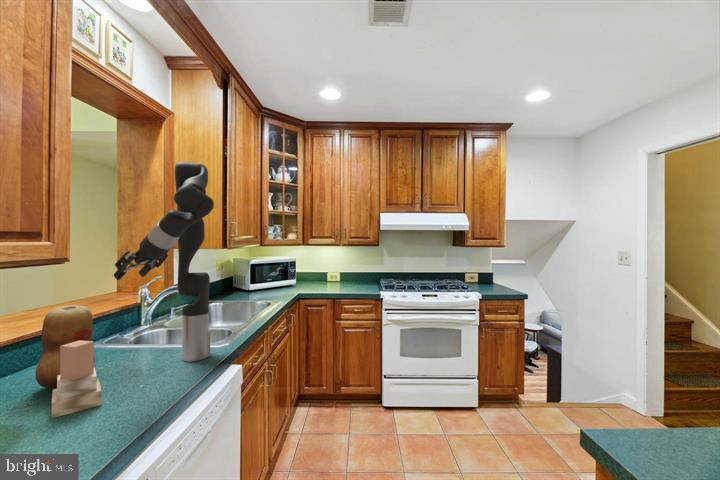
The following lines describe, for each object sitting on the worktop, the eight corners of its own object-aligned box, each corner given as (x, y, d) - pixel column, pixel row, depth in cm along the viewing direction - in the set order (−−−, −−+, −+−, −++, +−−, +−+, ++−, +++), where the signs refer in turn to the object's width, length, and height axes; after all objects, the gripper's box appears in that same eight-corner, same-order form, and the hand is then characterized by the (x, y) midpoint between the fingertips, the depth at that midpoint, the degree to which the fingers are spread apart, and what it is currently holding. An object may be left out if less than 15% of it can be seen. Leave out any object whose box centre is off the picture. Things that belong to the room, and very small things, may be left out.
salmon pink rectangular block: (79, 371, 92) (79, 340, 92) (93, 372, 91) (93, 341, 91) (60, 378, 87) (60, 345, 87) (74, 380, 86) (75, 347, 86)
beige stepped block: (98, 392, 96) (98, 365, 96) (101, 404, 89) (101, 376, 89) (52, 403, 89) (52, 375, 89) (51, 418, 82) (51, 387, 82)
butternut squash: (61, 398, 92) (61, 312, 92) (23, 394, 94) (23, 310, 94) (106, 377, 106) (106, 302, 106) (71, 375, 108) (72, 301, 108)
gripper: (171, 231, 105) (141, 265, 107) (132, 230, 91) (99, 269, 93) (185, 248, 104) (155, 282, 106) (148, 249, 90) (114, 288, 92)
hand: (129, 276), depth 100 cm, fingers open, 8 cm apart
